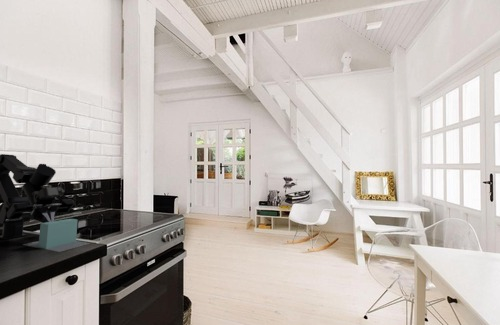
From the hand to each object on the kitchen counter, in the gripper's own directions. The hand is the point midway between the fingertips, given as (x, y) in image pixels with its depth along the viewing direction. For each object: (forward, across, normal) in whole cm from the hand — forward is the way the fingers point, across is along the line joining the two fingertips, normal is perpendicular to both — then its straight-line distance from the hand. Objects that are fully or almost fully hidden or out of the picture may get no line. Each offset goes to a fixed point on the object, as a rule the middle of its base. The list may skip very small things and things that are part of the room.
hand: (51, 226), depth 83 cm
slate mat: (+7, 0, +2) cm, 8 cm away
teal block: (+7, 0, +2) cm, 7 cm away
